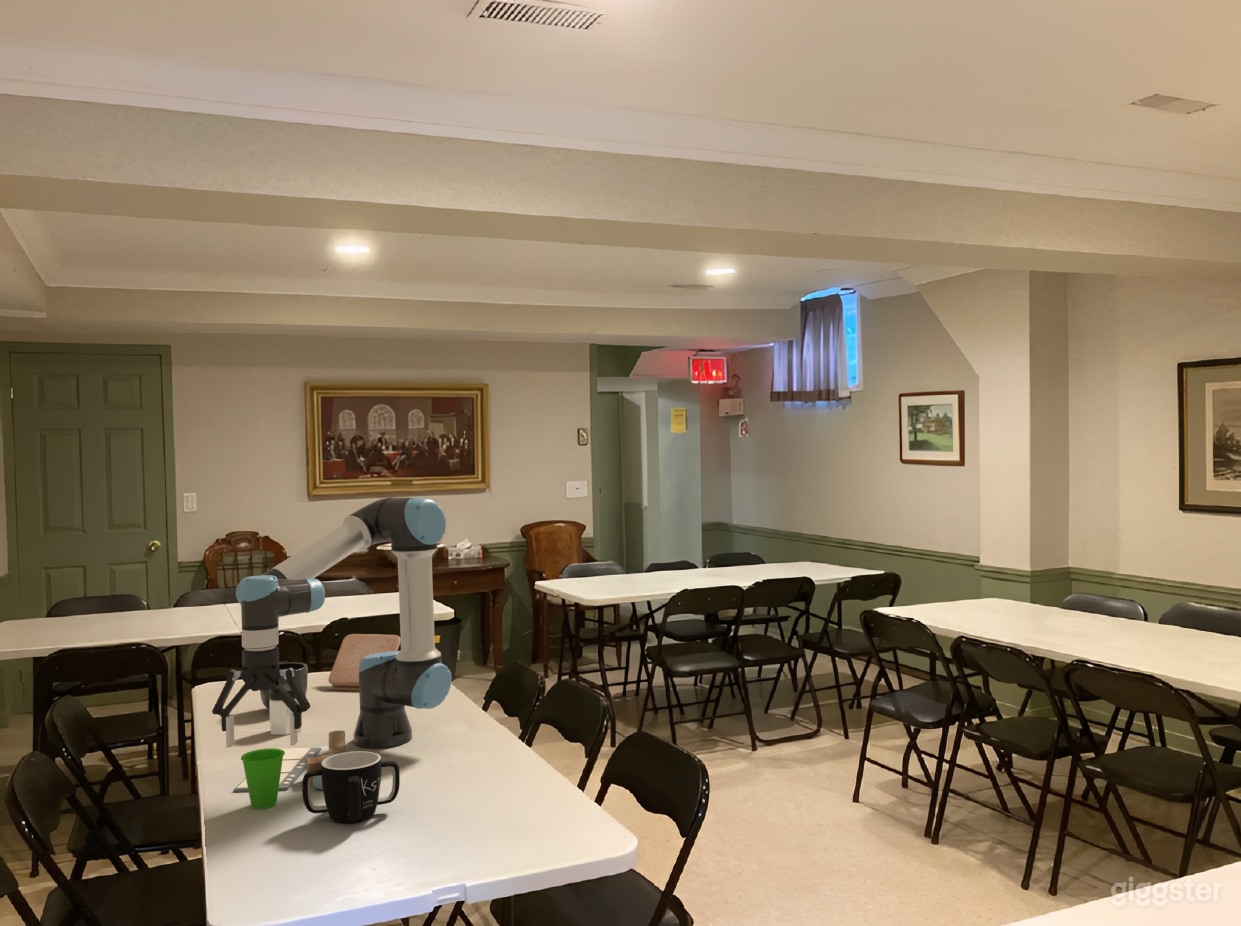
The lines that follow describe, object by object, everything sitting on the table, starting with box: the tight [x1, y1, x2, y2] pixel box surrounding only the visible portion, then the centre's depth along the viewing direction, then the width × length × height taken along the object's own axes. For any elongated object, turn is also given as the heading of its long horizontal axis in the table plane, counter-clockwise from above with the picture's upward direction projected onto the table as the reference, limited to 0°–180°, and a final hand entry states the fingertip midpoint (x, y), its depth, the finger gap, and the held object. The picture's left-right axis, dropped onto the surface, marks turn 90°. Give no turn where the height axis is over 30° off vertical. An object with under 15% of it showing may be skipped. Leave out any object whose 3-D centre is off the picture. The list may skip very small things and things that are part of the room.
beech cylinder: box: [328, 730, 346, 755], centre depth 243 cm, size 4×4×6 cm
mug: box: [301, 750, 401, 824], centre depth 202 cm, size 16×16×12 cm
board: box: [233, 747, 322, 793], centre depth 234 cm, size 12×30×1 cm, turn 3°
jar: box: [268, 685, 302, 736], centre depth 267 cm, size 9×8×12 cm
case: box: [328, 633, 401, 692], centre depth 322 cm, size 20×21×16 cm
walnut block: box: [306, 754, 329, 786], centre depth 225 cm, size 5×5×5 cm
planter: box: [259, 662, 309, 710], centre depth 290 cm, size 14×14×13 cm
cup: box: [240, 747, 285, 810], centre depth 210 cm, size 9×9×11 cm
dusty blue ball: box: [312, 776, 323, 790], centre depth 219 cm, size 4×4×4 cm
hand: (262, 744), depth 210 cm, fingers open, 13 cm apart
